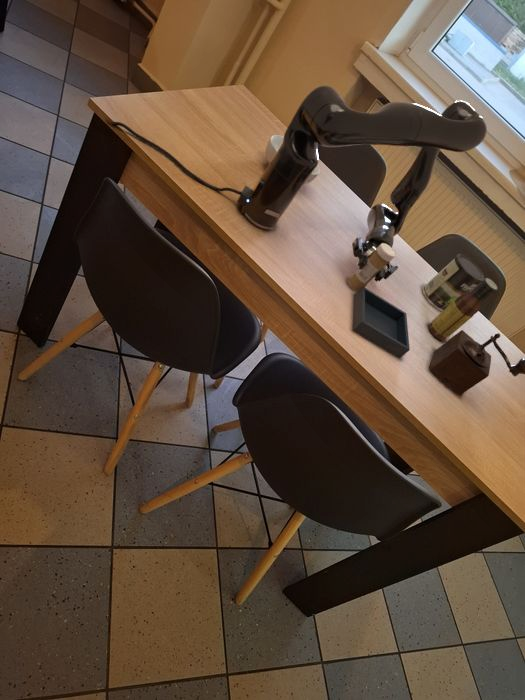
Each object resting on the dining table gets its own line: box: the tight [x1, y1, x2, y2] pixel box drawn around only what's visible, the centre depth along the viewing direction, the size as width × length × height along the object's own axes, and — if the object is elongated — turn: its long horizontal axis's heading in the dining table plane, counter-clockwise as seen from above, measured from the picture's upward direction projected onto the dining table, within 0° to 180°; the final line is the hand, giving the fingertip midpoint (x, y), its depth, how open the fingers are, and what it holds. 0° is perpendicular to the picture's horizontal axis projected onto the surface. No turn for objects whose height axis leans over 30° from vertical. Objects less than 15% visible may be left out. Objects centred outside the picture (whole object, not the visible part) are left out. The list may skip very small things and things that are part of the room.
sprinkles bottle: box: [347, 243, 396, 292], centre depth 124 cm, size 5×5×13 cm
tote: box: [352, 286, 411, 359], centre depth 121 cm, size 14×14×4 cm
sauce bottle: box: [428, 277, 498, 341], centre depth 130 cm, size 7×6×20 cm
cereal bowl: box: [265, 134, 321, 185], centre depth 144 cm, size 17×17×7 cm
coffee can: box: [421, 253, 486, 312], centre depth 145 cm, size 10×10×14 cm
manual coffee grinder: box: [428, 329, 525, 397], centre depth 120 cm, size 16×11×18 cm
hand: (370, 272), depth 121 cm, fingers closed on sprinkles bottle, 4 cm apart
